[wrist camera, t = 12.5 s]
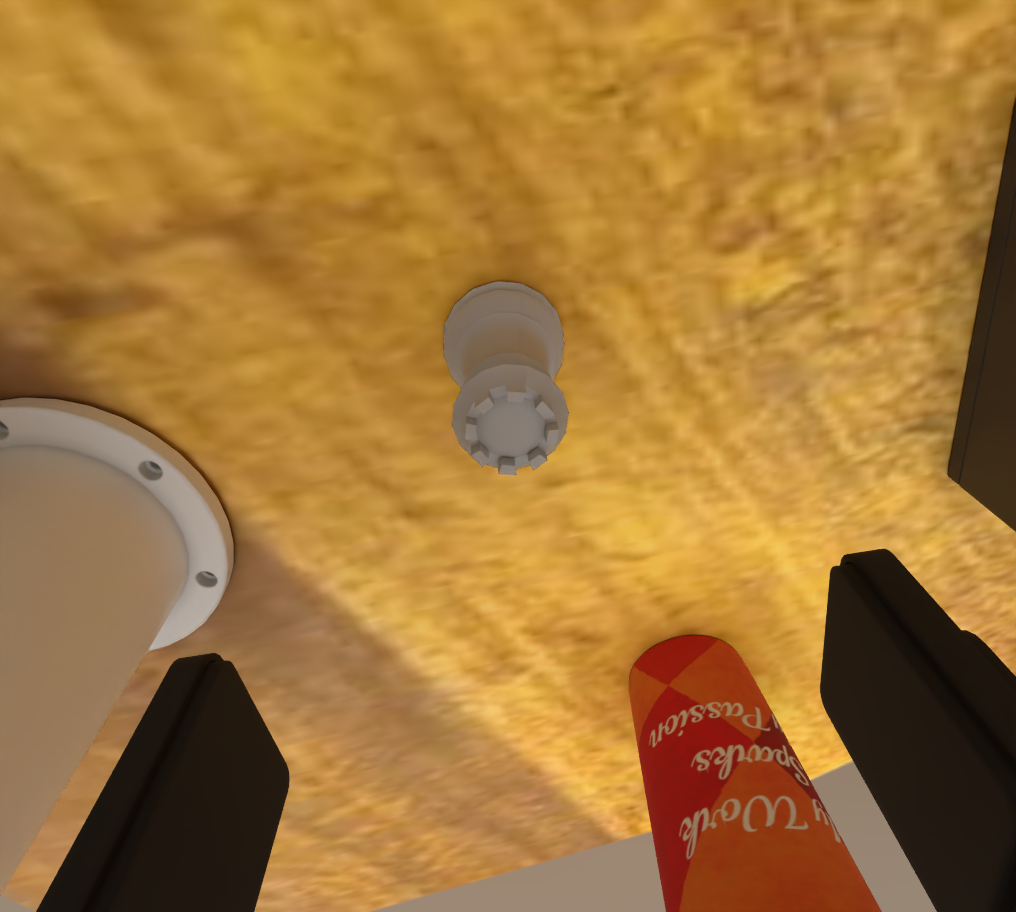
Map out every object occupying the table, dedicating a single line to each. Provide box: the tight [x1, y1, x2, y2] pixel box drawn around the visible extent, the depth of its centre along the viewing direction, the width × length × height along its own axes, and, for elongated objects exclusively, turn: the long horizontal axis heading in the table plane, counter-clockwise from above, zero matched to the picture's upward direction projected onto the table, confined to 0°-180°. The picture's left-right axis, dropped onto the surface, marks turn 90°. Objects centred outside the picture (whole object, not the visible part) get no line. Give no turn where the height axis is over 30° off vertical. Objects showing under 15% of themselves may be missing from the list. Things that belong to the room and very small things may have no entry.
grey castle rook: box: [443, 281, 569, 475], centre depth 21 cm, size 4×4×8 cm
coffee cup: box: [629, 635, 882, 912], centre depth 27 cm, size 8×8×15 cm
